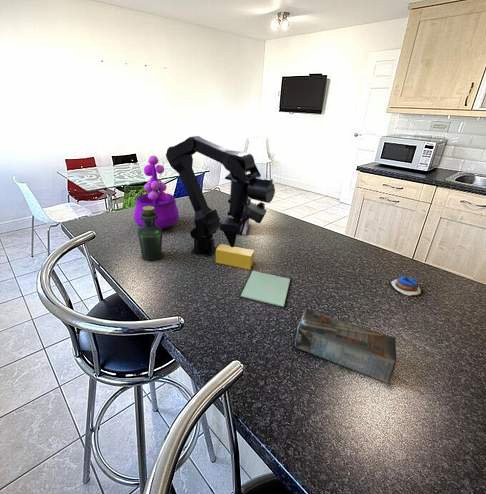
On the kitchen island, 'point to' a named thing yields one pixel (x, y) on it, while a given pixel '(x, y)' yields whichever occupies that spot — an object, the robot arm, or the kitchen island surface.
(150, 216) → the potion bottle
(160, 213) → the decorative plant
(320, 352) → the beverage carton
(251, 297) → the mat
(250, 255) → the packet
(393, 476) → the kitchen island surface
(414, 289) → the dessert
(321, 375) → the kitchen island surface
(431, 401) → the kitchen island surface
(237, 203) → the robot arm
